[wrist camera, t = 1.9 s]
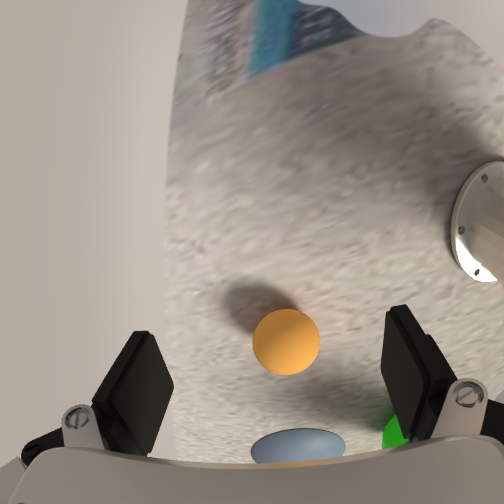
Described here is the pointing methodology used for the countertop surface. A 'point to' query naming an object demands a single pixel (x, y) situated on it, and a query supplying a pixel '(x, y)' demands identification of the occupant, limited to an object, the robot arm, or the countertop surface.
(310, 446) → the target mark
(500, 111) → the countertop surface
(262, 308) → the countertop surface
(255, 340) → the ball
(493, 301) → the countertop surface
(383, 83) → the countertop surface
